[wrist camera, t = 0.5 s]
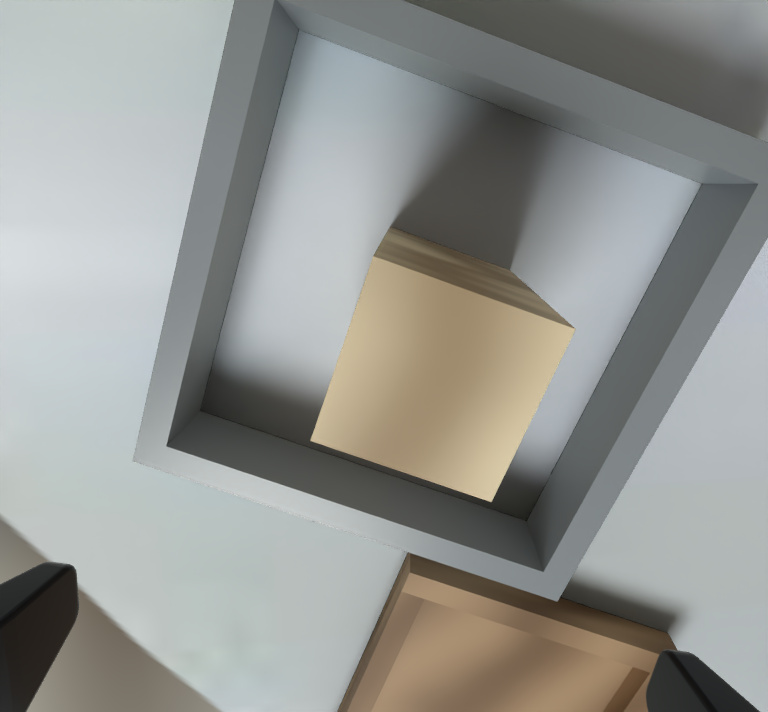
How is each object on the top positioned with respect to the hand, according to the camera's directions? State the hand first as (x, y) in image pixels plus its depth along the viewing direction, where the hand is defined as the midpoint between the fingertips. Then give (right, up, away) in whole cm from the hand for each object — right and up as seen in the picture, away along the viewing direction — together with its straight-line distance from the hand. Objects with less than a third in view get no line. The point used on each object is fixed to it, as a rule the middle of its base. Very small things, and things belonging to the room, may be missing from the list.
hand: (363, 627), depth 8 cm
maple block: (+2, +6, +11) cm, 13 cm away
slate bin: (+2, +6, +11) cm, 13 cm away
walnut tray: (+5, -11, +17) cm, 21 cm away
